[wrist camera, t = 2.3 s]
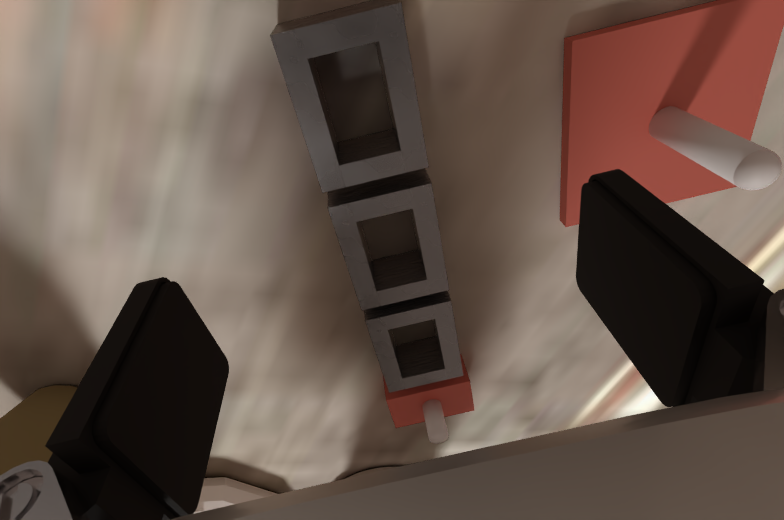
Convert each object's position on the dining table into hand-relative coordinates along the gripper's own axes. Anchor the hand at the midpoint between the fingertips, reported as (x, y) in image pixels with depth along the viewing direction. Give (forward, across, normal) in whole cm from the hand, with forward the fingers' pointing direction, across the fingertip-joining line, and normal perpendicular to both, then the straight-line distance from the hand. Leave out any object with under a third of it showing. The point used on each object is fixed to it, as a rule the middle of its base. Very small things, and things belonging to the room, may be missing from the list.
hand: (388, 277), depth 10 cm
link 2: (+18, 0, +18) cm, 25 cm away
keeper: (+18, -18, +6) cm, 26 cm away
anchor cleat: (+18, 0, +26) cm, 31 cm away
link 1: (+18, 0, +9) cm, 20 cm away
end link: (+18, 0, 0) cm, 18 cm away
